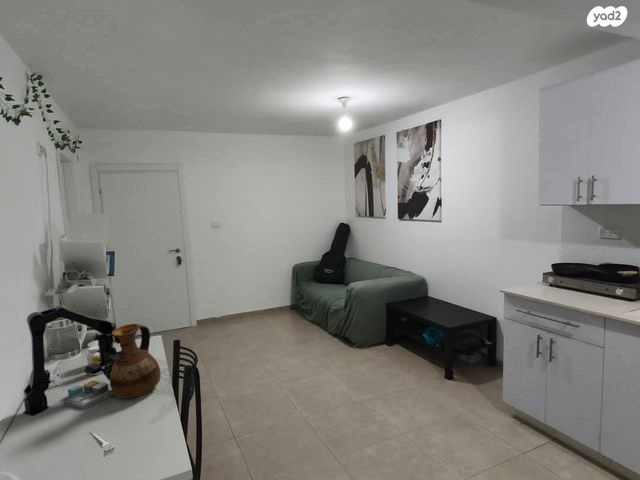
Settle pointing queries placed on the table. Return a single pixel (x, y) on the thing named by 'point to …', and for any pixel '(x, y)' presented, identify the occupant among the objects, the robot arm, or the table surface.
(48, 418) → the table surface
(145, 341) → the ceramic pitcher
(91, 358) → the supplement bottle
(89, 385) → the block
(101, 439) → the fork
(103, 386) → the block
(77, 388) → the teal cube
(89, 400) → the breaker panel
